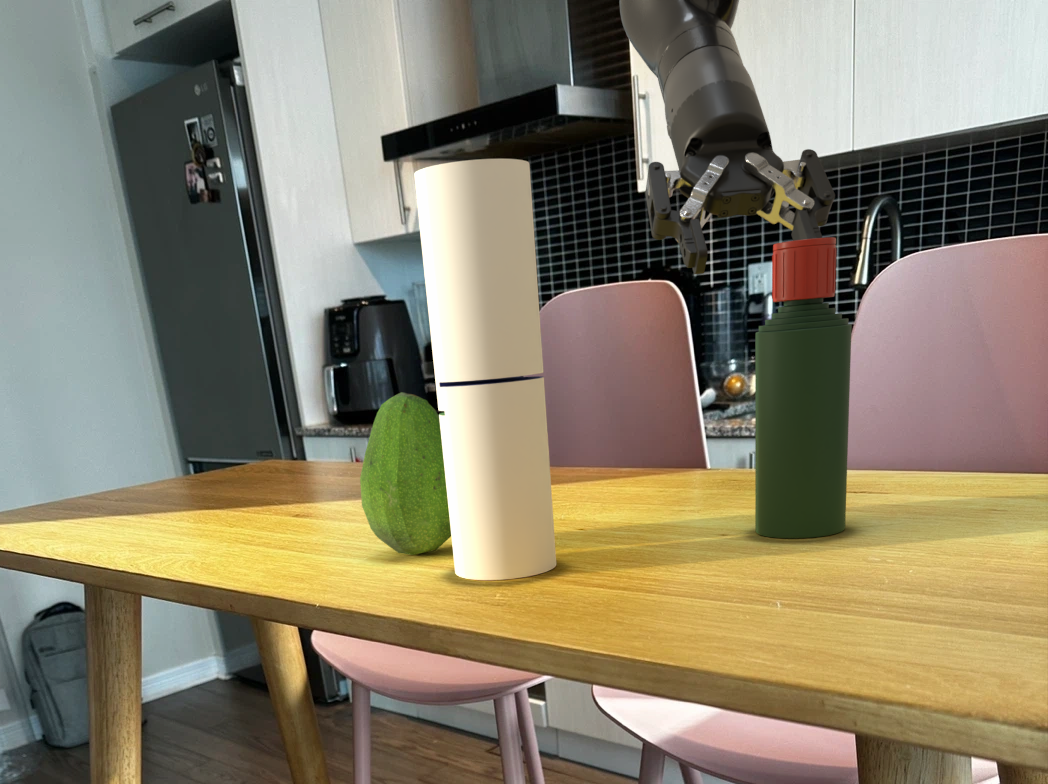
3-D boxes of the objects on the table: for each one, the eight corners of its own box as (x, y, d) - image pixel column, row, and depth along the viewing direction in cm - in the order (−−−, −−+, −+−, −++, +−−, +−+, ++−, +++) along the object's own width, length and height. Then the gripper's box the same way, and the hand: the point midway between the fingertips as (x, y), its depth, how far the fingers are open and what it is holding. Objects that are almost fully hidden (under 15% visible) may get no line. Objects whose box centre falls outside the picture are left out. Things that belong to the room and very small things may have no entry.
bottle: (807, 518, 80) (812, 251, 73) (864, 529, 74) (875, 241, 68) (738, 530, 78) (736, 256, 71) (791, 542, 72) (794, 246, 65)
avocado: (431, 566, 75) (411, 394, 71) (349, 562, 79) (326, 399, 75) (491, 543, 81) (476, 384, 77) (412, 541, 85) (394, 389, 81)
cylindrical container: (498, 584, 67) (460, 156, 59) (435, 572, 73) (391, 177, 64) (577, 563, 72) (553, 160, 63) (512, 552, 77) (481, 179, 68)
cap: (808, 299, 73) (809, 242, 72) (847, 295, 69) (849, 235, 68) (760, 303, 72) (760, 246, 70) (797, 299, 68) (798, 239, 67)
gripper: (635, 84, 82) (672, 227, 76) (809, 70, 83) (861, 210, 76) (626, 169, 89) (658, 307, 82) (787, 155, 90) (832, 291, 83)
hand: (756, 260), depth 79 cm, fingers open, 8 cm apart
